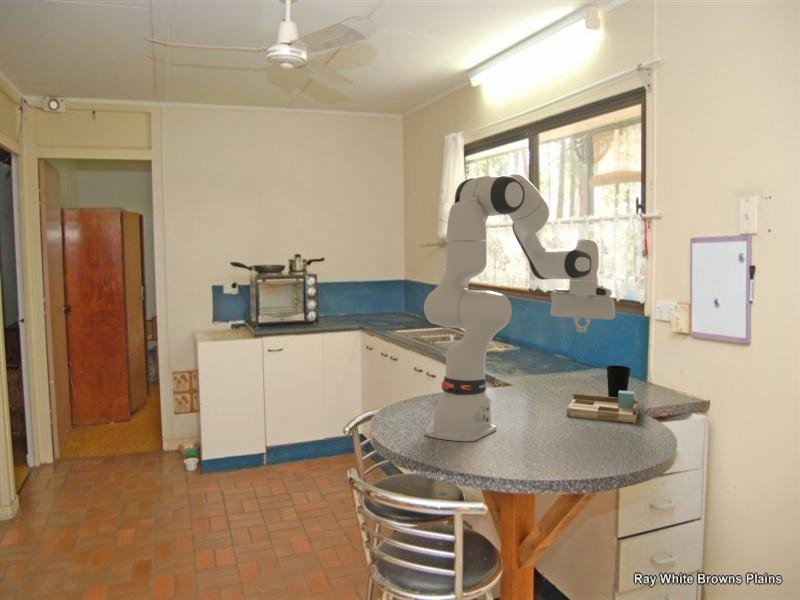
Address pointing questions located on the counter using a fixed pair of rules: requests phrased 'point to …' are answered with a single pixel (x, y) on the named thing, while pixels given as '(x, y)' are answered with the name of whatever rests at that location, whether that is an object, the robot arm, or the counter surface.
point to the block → (625, 399)
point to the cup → (617, 379)
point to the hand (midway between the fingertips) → (581, 331)
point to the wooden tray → (601, 408)
